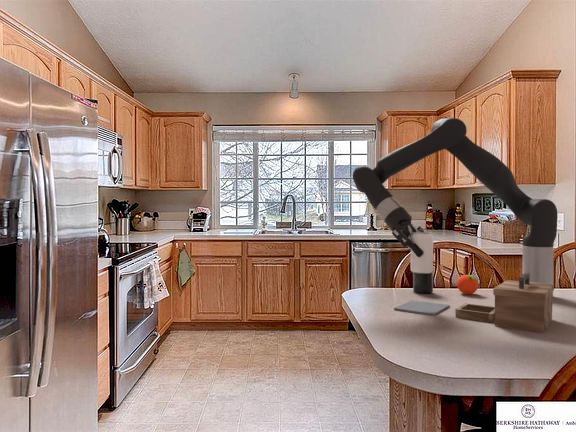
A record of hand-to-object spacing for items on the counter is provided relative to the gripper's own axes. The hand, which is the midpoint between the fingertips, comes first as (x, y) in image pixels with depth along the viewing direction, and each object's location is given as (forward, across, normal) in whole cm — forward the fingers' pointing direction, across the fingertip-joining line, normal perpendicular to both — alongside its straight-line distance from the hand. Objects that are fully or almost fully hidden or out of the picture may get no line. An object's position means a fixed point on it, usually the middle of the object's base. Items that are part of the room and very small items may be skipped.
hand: (427, 254), depth 131 cm
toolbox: (+26, +4, -3) cm, 26 cm away
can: (+3, 0, +5) cm, 6 cm away
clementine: (+10, +31, +13) cm, 36 cm away
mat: (+11, 0, +13) cm, 17 cm away
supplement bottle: (+1, +23, +22) cm, 32 cm away
